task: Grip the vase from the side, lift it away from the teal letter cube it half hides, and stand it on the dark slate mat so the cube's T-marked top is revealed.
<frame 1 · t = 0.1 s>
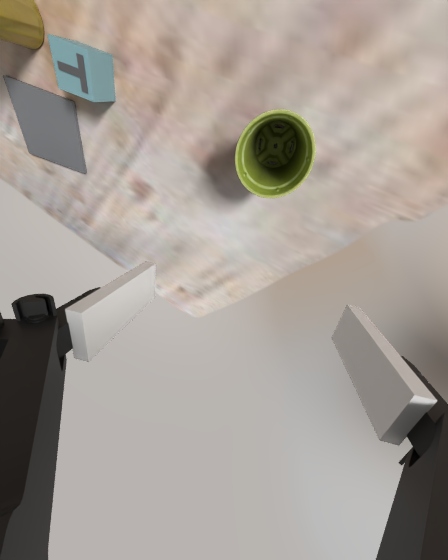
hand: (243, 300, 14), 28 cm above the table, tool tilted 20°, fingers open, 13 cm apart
vase: (23, 15, 28), on the table
letter cube: (97, 73, 30), on the table
plant pot: (275, 145, 32), on the table
slate mat: (51, 129, 37), on the table
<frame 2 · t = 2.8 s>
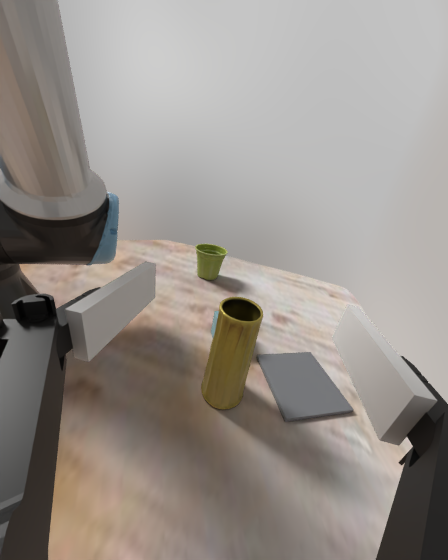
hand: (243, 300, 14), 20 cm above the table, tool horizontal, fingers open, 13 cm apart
vase: (221, 390, 31), on the table
plant pot: (207, 276, 64), on the table
slate mat: (299, 382, 34), on the table
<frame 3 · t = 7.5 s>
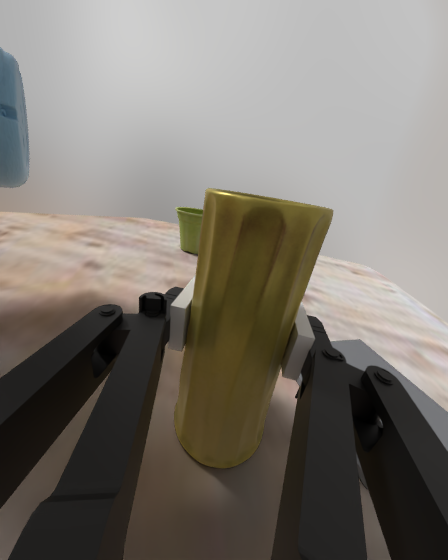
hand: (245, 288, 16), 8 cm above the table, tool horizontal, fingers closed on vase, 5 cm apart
vase: (218, 417, 15), on the table, touching gripper
plant pot: (194, 250, 48), on the table
slate mat: (360, 390, 18), on the table
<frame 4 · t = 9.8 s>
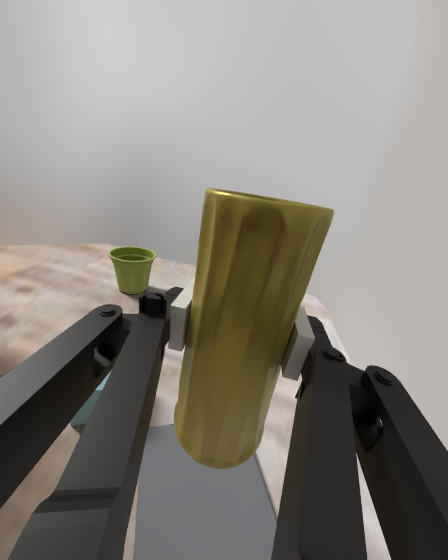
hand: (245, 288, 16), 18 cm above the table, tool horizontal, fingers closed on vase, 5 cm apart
vase: (218, 418, 15), point 10 cm above the table, touching gripper
letter cube: (103, 400, 25), on the table
plant pot: (133, 289, 49), on the table
slate mat: (202, 485, 19), on the table
when the fingers open (9 cm above the table, at t = 12.1 s): vase stays where it is, resting on slate mat.
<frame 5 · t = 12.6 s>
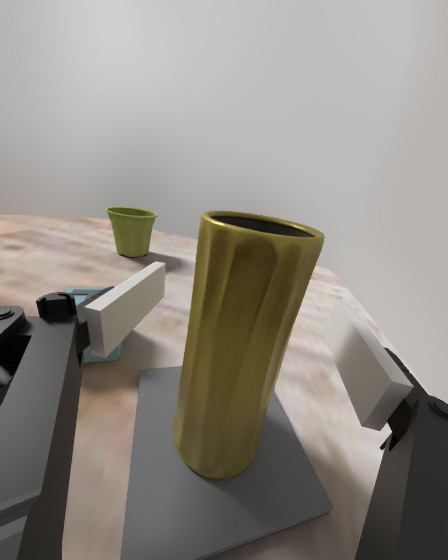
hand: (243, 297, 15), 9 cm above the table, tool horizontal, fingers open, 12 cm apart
vase: (216, 427, 15), resting on slate mat
letter cube: (95, 343, 21), on the table
plant pot: (133, 253, 45), on the table
slate mat: (215, 429, 15), on the table
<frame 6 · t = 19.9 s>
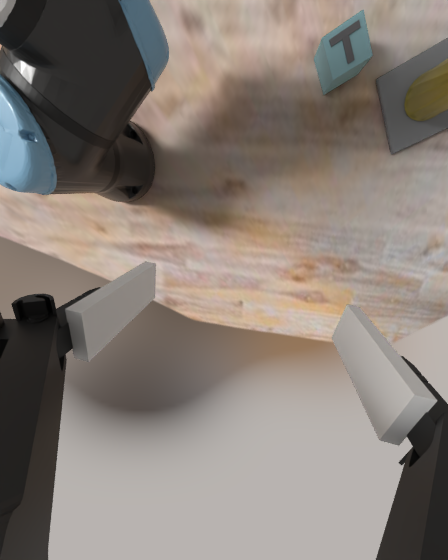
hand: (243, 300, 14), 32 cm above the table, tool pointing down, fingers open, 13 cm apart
vase: (426, 97, 31), resting on slate mat
letter cube: (335, 67, 32), on the table
slate mat: (424, 97, 32), on the table
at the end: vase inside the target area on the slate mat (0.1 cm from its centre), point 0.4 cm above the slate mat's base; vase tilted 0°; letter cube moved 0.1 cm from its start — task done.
